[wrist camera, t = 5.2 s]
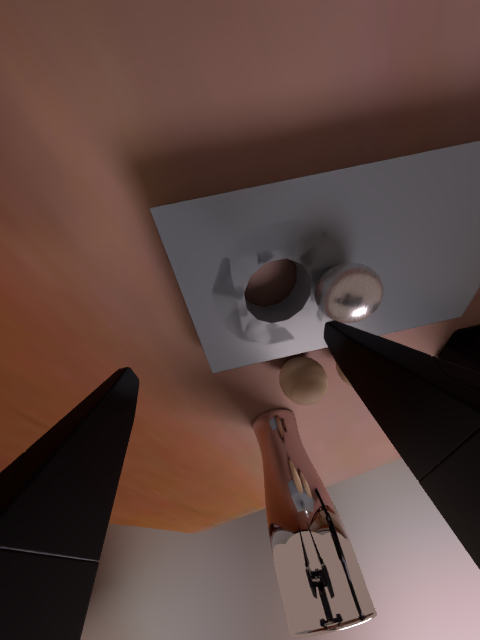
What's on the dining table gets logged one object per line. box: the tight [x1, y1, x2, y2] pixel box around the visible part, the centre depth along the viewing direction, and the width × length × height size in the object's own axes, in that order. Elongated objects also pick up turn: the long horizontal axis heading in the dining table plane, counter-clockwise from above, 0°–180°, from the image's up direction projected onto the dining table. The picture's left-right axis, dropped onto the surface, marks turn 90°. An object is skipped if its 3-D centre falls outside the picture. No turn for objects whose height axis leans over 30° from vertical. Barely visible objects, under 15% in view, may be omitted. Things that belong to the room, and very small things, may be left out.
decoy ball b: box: [279, 356, 328, 405], centre depth 18 cm, size 4×4×4 cm
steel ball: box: [314, 263, 384, 323], centre depth 11 cm, size 4×4×4 cm
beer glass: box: [253, 409, 377, 638], centre depth 20 cm, size 7×7×15 cm
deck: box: [150, 141, 480, 373], centre depth 13 cm, size 22×12×2 cm, turn 100°
